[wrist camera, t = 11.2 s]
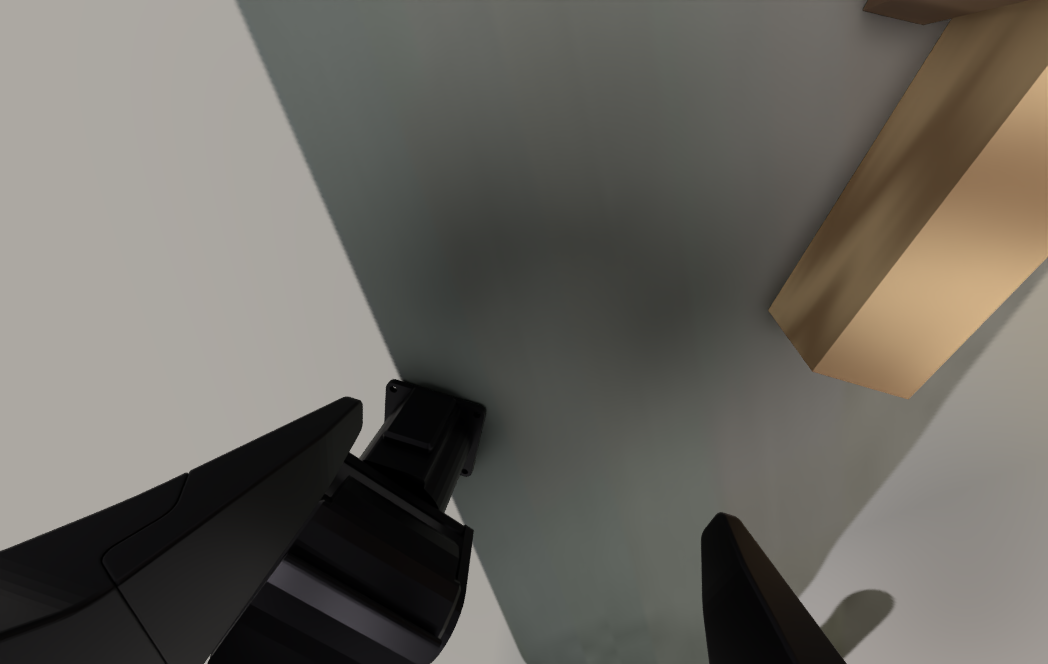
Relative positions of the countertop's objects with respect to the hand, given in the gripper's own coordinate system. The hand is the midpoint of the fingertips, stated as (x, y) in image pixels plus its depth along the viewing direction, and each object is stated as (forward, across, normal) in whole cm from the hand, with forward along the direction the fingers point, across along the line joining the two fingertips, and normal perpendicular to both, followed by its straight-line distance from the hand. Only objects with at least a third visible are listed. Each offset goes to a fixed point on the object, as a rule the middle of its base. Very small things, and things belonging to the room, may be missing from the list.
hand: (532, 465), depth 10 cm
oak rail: (+12, -11, -8) cm, 18 cm away
